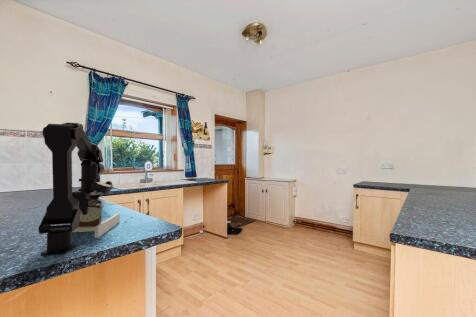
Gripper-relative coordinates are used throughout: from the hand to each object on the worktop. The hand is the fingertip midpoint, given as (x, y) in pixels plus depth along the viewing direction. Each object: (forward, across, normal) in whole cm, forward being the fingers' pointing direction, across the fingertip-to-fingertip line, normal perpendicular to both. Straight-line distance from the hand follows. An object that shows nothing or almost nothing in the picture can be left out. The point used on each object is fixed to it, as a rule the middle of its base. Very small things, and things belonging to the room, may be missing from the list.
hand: (88, 212), depth 89 cm
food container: (+5, +2, 0) cm, 6 cm away
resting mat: (+6, 0, 0) cm, 6 cm away
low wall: (+6, -4, -10) cm, 12 cm away
